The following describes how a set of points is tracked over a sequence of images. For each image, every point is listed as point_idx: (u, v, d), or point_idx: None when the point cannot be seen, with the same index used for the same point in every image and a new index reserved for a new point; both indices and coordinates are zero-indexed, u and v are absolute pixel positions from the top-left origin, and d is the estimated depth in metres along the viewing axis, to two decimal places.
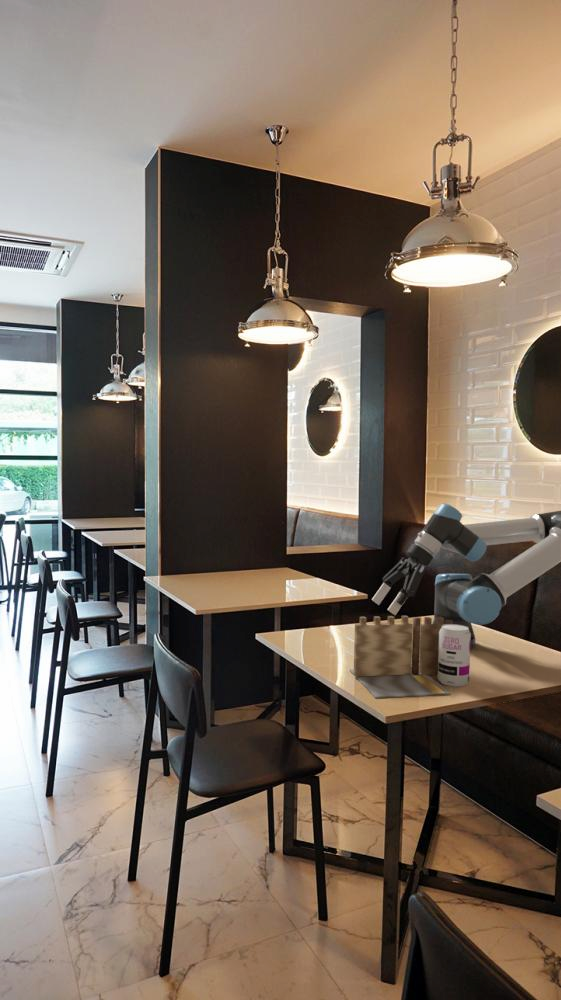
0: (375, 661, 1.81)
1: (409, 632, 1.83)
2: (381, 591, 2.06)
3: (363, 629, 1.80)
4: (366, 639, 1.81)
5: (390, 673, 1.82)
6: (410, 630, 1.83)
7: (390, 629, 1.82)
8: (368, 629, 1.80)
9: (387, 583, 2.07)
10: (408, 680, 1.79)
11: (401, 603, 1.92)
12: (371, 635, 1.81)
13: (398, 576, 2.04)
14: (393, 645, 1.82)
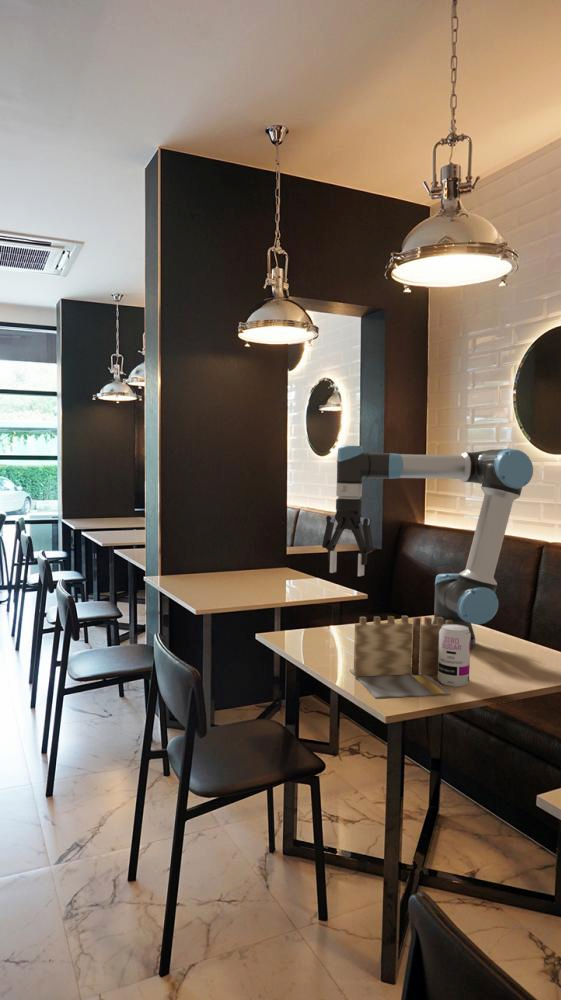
0: (375, 661, 1.81)
1: (409, 632, 1.83)
2: (333, 560, 2.00)
3: (363, 629, 1.80)
4: (366, 639, 1.81)
5: (390, 673, 1.82)
6: (410, 630, 1.83)
7: (390, 629, 1.82)
8: (368, 629, 1.80)
9: (332, 548, 2.00)
10: (408, 680, 1.79)
11: (366, 563, 1.95)
12: (371, 635, 1.81)
13: (339, 535, 1.99)
14: (393, 645, 1.82)
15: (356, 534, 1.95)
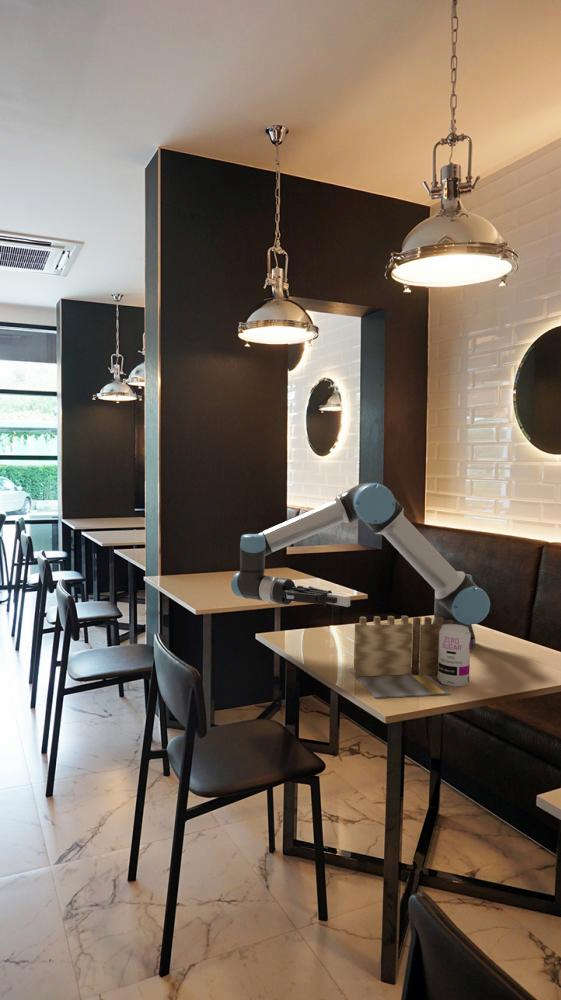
0: (375, 661, 1.81)
1: (409, 632, 1.83)
2: None
3: (363, 629, 1.80)
4: (366, 639, 1.81)
5: (390, 673, 1.82)
6: (410, 630, 1.83)
7: (390, 629, 1.82)
8: (368, 629, 1.80)
9: None
10: (408, 680, 1.79)
11: (333, 599, 1.84)
12: (371, 635, 1.81)
13: None
14: (393, 645, 1.82)
15: None
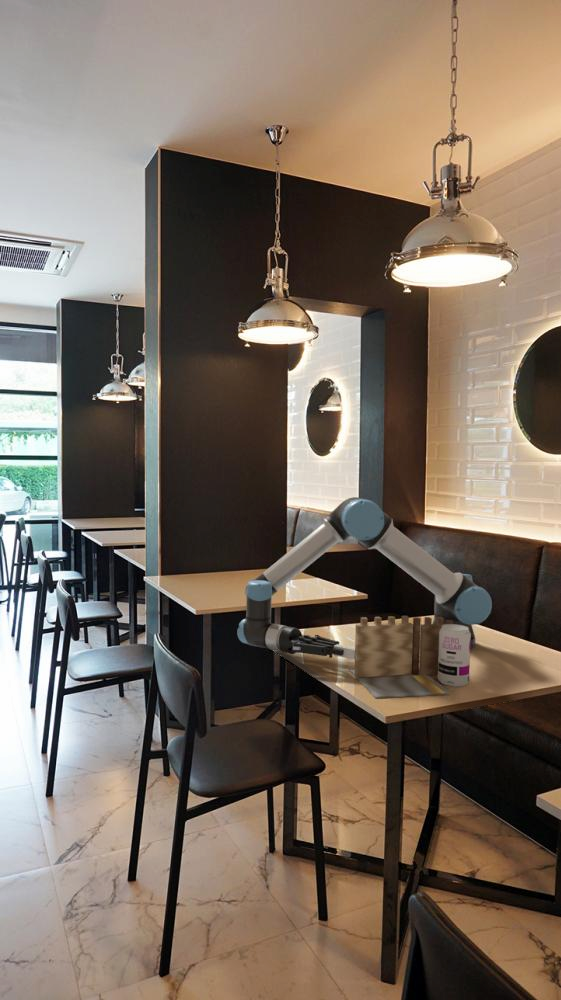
0: (376, 662, 1.81)
1: (409, 632, 1.83)
2: None
3: (364, 630, 1.79)
4: (367, 640, 1.80)
5: (391, 673, 1.82)
6: (410, 630, 1.83)
7: (391, 629, 1.81)
8: (369, 630, 1.80)
9: None
10: (408, 680, 1.79)
11: (340, 651, 1.82)
12: (372, 636, 1.80)
13: None
14: (394, 645, 1.82)
15: None
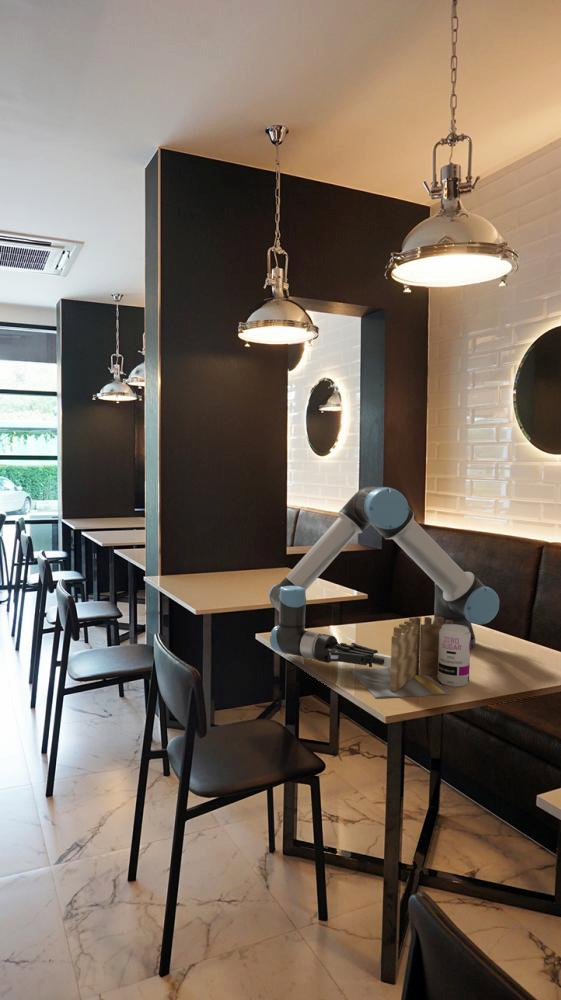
0: (404, 671, 1.74)
1: (416, 633, 1.82)
2: None
3: (400, 640, 1.70)
4: (401, 649, 1.71)
5: (409, 679, 1.78)
6: (416, 631, 1.82)
7: (410, 634, 1.77)
8: (402, 639, 1.71)
9: None
10: None
11: (380, 660, 1.75)
12: (403, 644, 1.72)
13: None
14: (410, 650, 1.78)
15: None
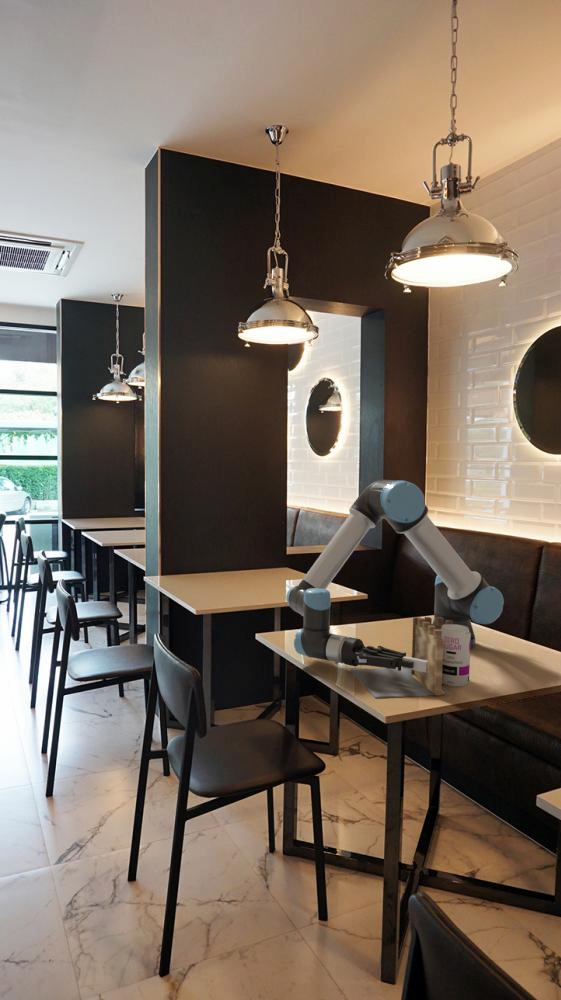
0: None
1: None
2: None
3: None
4: None
5: None
6: None
7: None
8: None
9: None
10: (408, 680, 1.79)
11: (410, 664, 1.72)
12: None
13: None
14: None
15: None
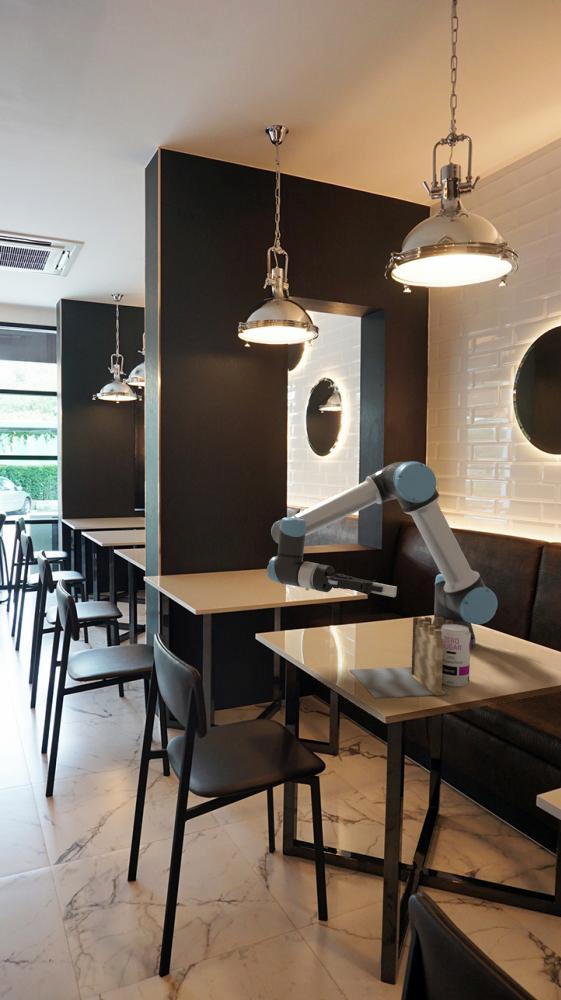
0: None
1: None
2: None
3: None
4: None
5: None
6: None
7: None
8: None
9: None
10: (408, 680, 1.79)
11: (379, 588, 1.78)
12: None
13: None
14: None
15: None
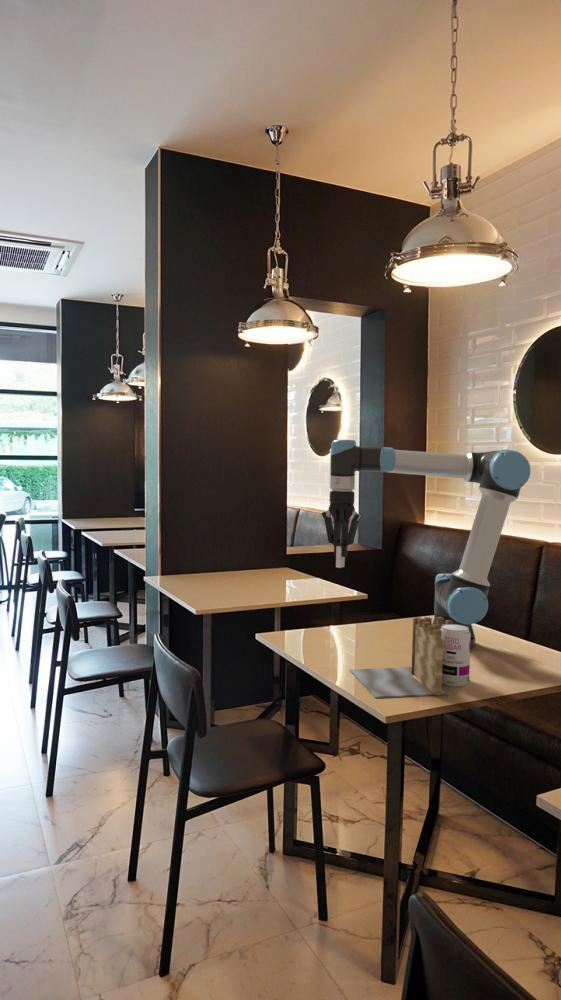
0: None
1: None
2: None
3: None
4: None
5: None
6: None
7: None
8: None
9: (338, 542, 2.05)
10: (408, 680, 1.79)
11: (346, 555, 2.04)
12: None
13: (339, 527, 2.05)
14: None
15: (343, 526, 2.02)
